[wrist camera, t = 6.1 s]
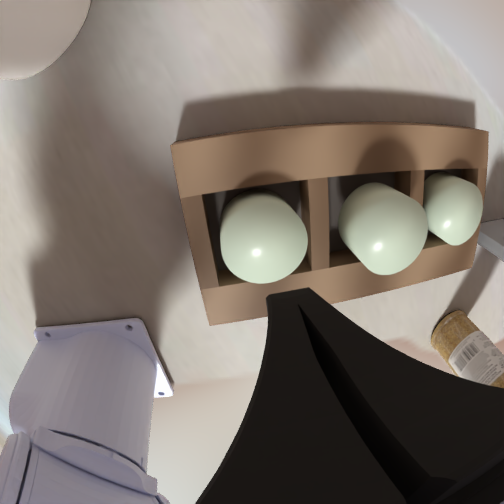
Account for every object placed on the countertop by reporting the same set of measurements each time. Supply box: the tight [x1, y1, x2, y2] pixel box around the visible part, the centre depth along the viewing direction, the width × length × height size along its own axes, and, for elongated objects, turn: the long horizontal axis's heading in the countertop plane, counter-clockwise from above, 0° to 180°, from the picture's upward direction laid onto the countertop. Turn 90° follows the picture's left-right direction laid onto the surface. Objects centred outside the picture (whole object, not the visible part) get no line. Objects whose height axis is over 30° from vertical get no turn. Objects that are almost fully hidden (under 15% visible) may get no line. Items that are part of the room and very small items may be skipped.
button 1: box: [422, 172, 483, 245], centre depth 16 cm, size 4×4×2 cm
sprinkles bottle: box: [431, 310, 504, 388], centre depth 17 cm, size 5×5×13 cm
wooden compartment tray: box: [170, 122, 488, 326], centre depth 16 cm, size 19×10×2 cm, turn 97°
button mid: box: [338, 183, 428, 275], centre depth 14 cm, size 4×4×2 cm
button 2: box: [219, 189, 308, 284], centre depth 15 cm, size 4×4×2 cm
